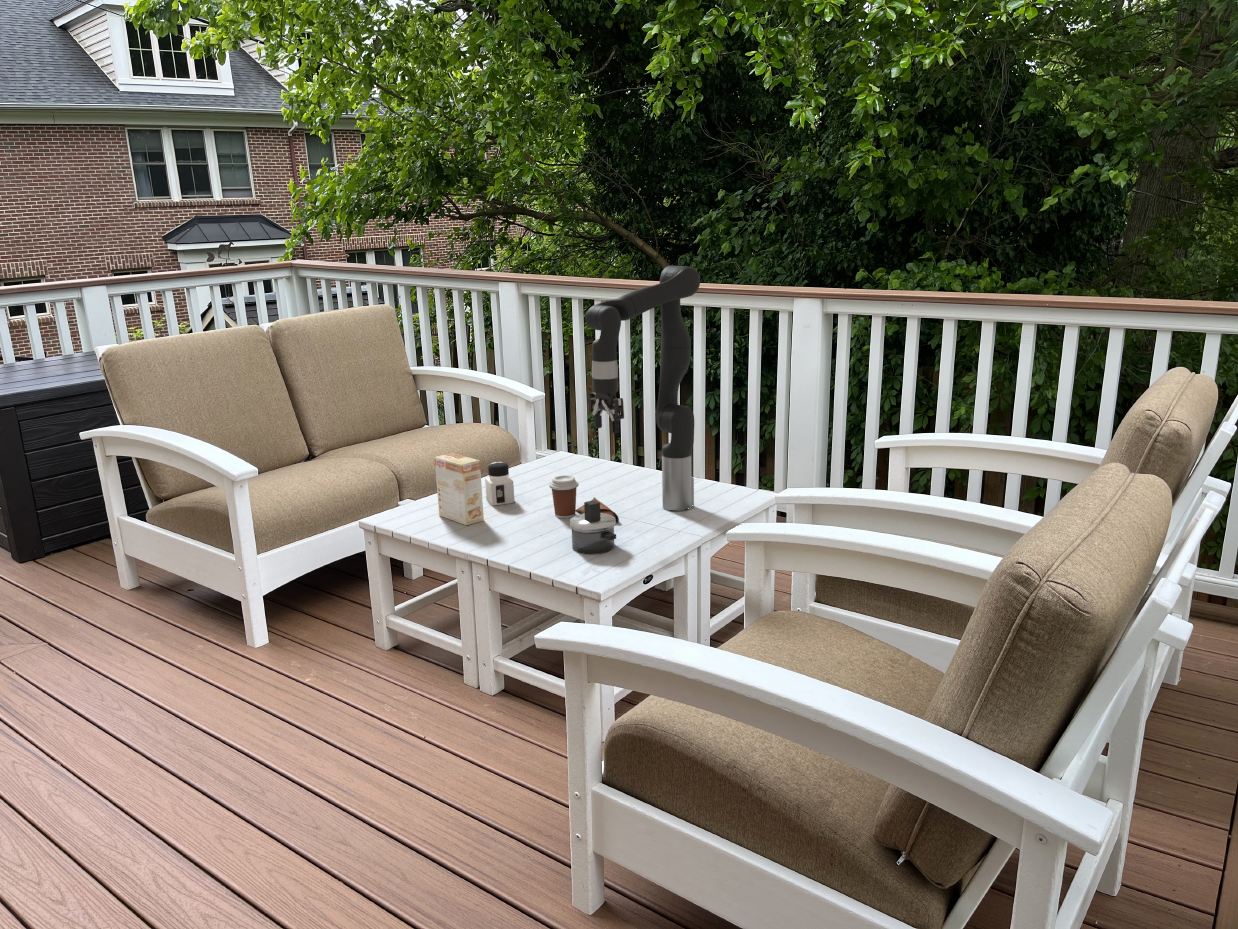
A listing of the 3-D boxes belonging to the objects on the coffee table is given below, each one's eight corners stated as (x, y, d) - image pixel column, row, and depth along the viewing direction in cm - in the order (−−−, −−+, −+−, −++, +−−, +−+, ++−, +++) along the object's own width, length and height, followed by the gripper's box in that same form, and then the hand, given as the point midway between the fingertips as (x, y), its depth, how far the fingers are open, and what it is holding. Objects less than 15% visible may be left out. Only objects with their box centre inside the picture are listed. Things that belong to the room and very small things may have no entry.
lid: (598, 513, 277) (597, 492, 275) (625, 524, 266) (624, 503, 265) (560, 522, 269) (560, 501, 267) (587, 534, 259) (586, 512, 257)
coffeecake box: (484, 520, 295) (480, 460, 289) (466, 526, 290) (461, 464, 285) (456, 510, 305) (452, 451, 300) (438, 515, 300) (433, 456, 295)
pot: (592, 533, 281) (591, 510, 279) (631, 550, 266) (630, 527, 264) (556, 542, 274) (555, 519, 272) (594, 561, 259) (593, 537, 257)
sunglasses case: (572, 509, 302) (581, 491, 302) (590, 517, 305) (599, 499, 305) (593, 526, 286) (603, 507, 286) (612, 534, 289) (622, 515, 289)
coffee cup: (565, 508, 304) (564, 472, 301) (585, 514, 298) (584, 477, 295) (544, 515, 298) (542, 478, 294) (564, 521, 292) (562, 484, 288)
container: (514, 503, 311) (512, 464, 307) (491, 506, 308) (489, 467, 305) (508, 496, 318) (506, 459, 314) (486, 499, 315) (483, 462, 312)
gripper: (630, 377, 269) (631, 432, 273) (601, 370, 280) (603, 424, 284) (608, 380, 265) (610, 437, 269) (580, 374, 276) (582, 428, 280)
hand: (606, 430), depth 277 cm, fingers open, 8 cm apart
